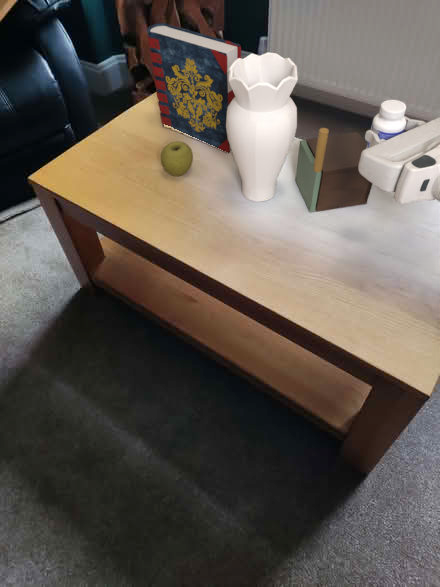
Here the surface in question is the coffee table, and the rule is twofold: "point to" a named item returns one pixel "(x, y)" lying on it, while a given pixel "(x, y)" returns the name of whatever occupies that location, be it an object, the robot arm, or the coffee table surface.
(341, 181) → the cupboard
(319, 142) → the cupboard door
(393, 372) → the coffee table surface
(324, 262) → the coffee table surface
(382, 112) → the pill bottle
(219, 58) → the book
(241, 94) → the vase
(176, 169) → the apple
